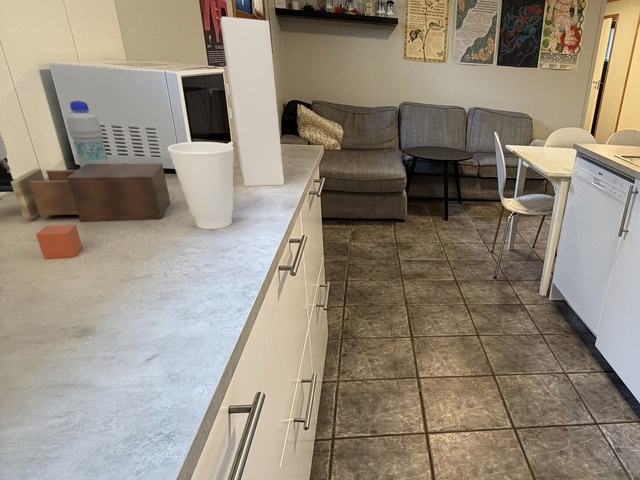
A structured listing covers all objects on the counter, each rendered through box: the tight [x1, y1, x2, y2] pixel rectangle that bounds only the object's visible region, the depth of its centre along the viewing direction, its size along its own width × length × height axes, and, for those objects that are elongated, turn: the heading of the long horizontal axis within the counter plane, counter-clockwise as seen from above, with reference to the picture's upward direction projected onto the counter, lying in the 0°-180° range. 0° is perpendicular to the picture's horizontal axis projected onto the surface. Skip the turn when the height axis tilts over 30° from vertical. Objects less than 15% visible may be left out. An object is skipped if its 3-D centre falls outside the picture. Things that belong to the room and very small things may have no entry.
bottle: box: [65, 100, 110, 168], centre depth 116 cm, size 7×7×20 cm
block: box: [35, 224, 84, 259], centre depth 82 cm, size 4×4×4 cm
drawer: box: [0, 168, 78, 219], centre depth 98 cm, size 20×11×7 cm, turn 110°
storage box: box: [219, 16, 285, 187], centre depth 130 cm, size 21×10×40 cm, turn 24°
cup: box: [167, 141, 235, 230], centre depth 97 cm, size 12×12×16 cm
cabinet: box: [67, 163, 171, 223], centre depth 102 cm, size 15×13×9 cm
